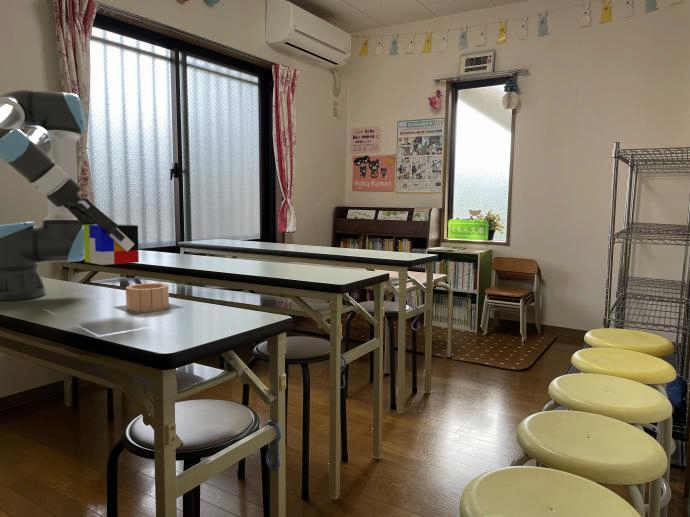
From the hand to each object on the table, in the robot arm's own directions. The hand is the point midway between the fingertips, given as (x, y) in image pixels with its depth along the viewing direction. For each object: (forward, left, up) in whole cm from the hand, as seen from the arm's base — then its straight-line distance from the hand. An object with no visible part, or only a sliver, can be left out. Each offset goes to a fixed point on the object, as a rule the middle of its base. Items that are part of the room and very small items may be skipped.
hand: (122, 246), depth 138 cm
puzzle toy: (0, -3, -4) cm, 5 cm away
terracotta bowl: (+2, +6, -18) cm, 19 cm away
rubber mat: (+2, +6, -18) cm, 19 cm away
